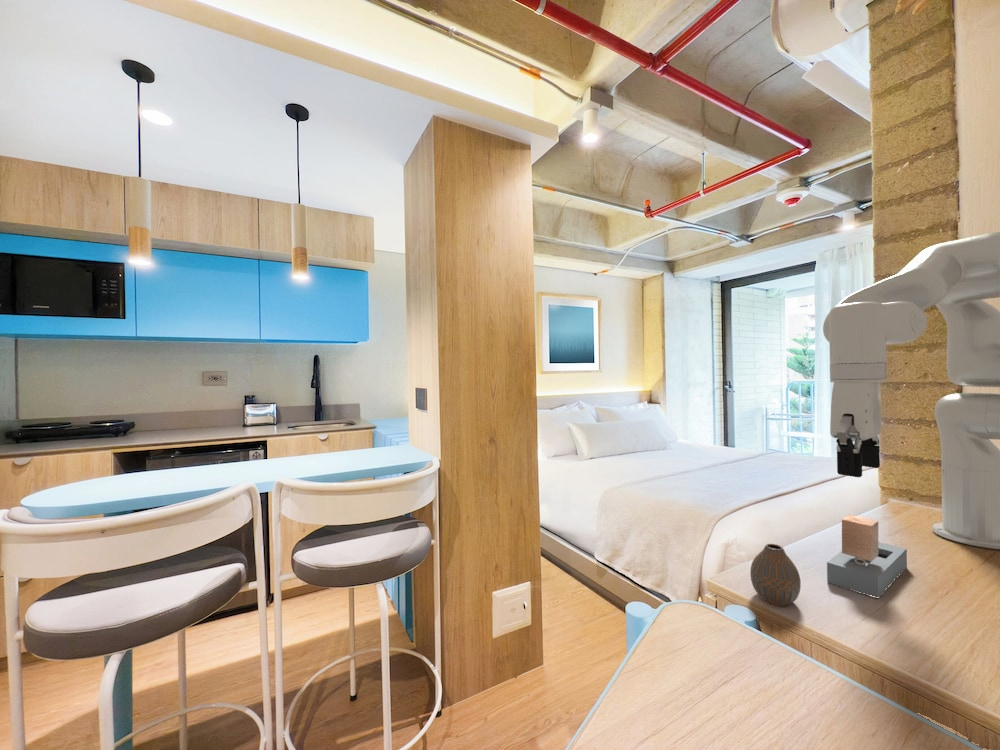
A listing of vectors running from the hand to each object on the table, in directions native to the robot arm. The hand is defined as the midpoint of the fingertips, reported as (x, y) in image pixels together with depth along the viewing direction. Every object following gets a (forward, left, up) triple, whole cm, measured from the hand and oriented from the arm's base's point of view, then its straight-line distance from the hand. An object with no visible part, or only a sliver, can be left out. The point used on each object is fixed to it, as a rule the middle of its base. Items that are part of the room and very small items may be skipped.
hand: (859, 470), depth 73 cm
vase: (+18, -7, -20) cm, 27 cm away
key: (0, 0, -19) cm, 19 cm away
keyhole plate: (-4, 0, -20) cm, 20 cm away
